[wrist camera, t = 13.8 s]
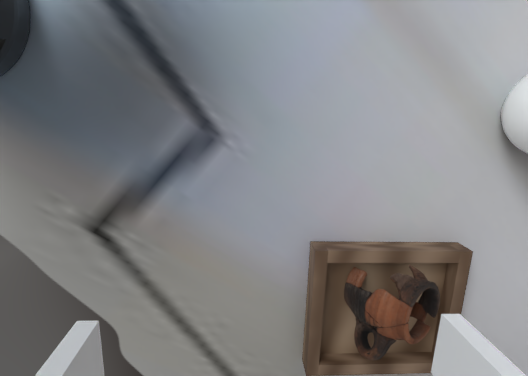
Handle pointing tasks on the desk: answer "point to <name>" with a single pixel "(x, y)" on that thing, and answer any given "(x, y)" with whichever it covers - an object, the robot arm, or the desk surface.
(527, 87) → the lidded jar
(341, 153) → the desk surface
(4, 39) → the robot arm
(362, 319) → the broken clay pot
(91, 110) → the desk surface
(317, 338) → the walnut tray
